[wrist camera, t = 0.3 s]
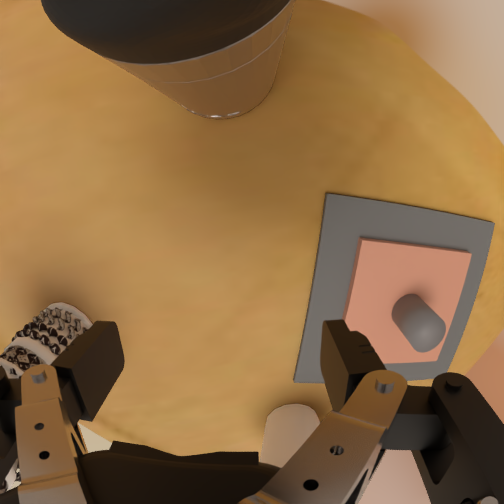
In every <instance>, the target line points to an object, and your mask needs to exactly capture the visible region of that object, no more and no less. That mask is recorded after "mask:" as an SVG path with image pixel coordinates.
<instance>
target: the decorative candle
mask: <svg viewBox="0 0 504 504" xmlns="http://www.w3.org/2000/svg"><path fill="white" fill-rule="evenodd" d="M92 325H93V324H92V323H91V321H90V320H89V319H88V318H87V316H86V315H85V314H84V313H82V312H81V311H80V310H78V309H77V308H76V307H74V306H72V305H69V304H66V303H63V302H59V303H52V304H50V305H49V306H48V307H47V308H46V309H45V310H43V311H40V314H39V315H38V316H36V317H33V322H29V323H28V324H26V325H25V326H24V328H23V330H21V331H18V332H17V333H16V335H15V337H13V338H12V342H11V343H10V344H9V345H8V346H7V347H6V348H5V349H4V352H3V353H2V354H1V355H0V366H1V367H3V368H4V369H5V371H6V373H7V376H8V378H21V377H22V374H23V373H24V372H25V371H26V370H27V369H29V368H31V367H33V366H36V365H41V364H47V365H50V364H51V363H52V362H53V361H54V360H55V359H56V358H57V357H58V356H59V355H60V353H61V352H62V351H63V350H65V348H66V347H67V346H68V345H70V343H71V342H72V341H73V340H74V339H75V338H76V337H77V336H79V335H81V334H83V333H84V332H86V331H87V330H88V329H89V328H90V327H91V326H92ZM18 468H19V469H20V467H19V459H18V458H17V459H16V461H15V463H14V464H13V466H12V468H11V469H10V471H9V473H8V475H7V476H6V478H5V480H4V482H3V483H2V485H1V487H0V494H2V493H4V492H6V491H7V489H10V488H11V487H12V485H13V483H14V482H15V481H19V482H21V475H20V472H18V473H17V472H16V470H17V469H18Z"/></svg>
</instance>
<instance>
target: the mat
mask: <svg viewBox="0 0 504 504" xmlns="http://www.w3.org/2000/svg"><path fill="white" fill-rule="evenodd" d="M494 224H495V223H493V222H489V221H485V220H480V219H475V218H471V217H466V216H461V215H456V214H451V213H446V212H441V211H436V210H431V209H425V208H420V207H414V206H409V205H403V204H397V203H391V202H385V201H379V200H372V199H366V198H359V197H352V196H345V195H338V194H330V193H326V194H325V202H324V209H323V217H322V224H321V231H320V237H319V244H318V250H317V257H316V263H315V269H314V275H313V281H312V287H311V293H310V298H309V304H308V309H307V315H306V320H305V325H304V330H303V335H302V340H301V345H300V350H299V355H298V360H297V365H296V369H295V374H294V379H293V380H294V383H325V382H324V379H323V376H322V372H321V367H320V351H321V337H322V325H323V321H324V320H338V319H342V317H343V312H344V308H345V304H346V299H347V295H348V290H349V285H350V281H351V276H352V271H353V266H354V261H355V255H356V250H357V244H358V239H359V237H360V238H369V239H377V240H385V241H394V242H402V243H410V244H418V245H426V246H433V247H441V248H448V249H456V250H463V251H468V252H470V253H471V254H472V255H471V259H470V263H469V267H468V271H467V275H466V278H465V282H464V285H463V289H462V292H461V295H460V298H459V302H458V305H457V308H456V311H455V314H454V317H453V320H452V322H451V325H450V328H449V331H448V333H447V336H446V339H445V341H444V344H443V346H442V349H441V351H440V354H439V356H438V359H437V361H430V362H413V363H387V364H384V366H385V367H386V369H387V370H389V371H394V372H396V373H399V374H400V375H402V376H403V377H404V378H405V379H406V381H411V380H424V379H434V378H435V377H436V376H438V375H440V374H442V373H447V371H448V368H449V366H450V364H451V362H452V359H453V357H454V355H455V352H456V350H457V347H458V345H459V342H460V340H461V337H462V335H463V332H464V330H465V327H466V324H467V321H468V319H469V316H470V313H471V310H472V307H473V304H474V301H475V298H476V295H477V292H478V288H479V285H480V282H481V278H482V275H483V271H484V267H485V264H486V260H487V256H488V252H489V248H490V243H491V239H492V234H493V229H494Z"/></svg>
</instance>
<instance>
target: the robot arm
mask: <svg viewBox="0 0 504 504" xmlns="http://www.w3.org/2000/svg"><path fill="white" fill-rule="evenodd" d="M41 3H42V6H43V8H44V11H45V13H46V14H47V16H48V17H49V19H50V20H51V22H52V23H53V24H54V25H55V26H56V27H57V28H58V29H59V30H60V31H62V32H63V33H64V34H65V35H66V36H68V37H70V38H71V39H73V40H75V41H76V42H78V43H79V44H81V45H83V46H85V47H87V48H88V49H90V50H92V51H94V52H96V53H97V54H99V55H100V56H102V57H104V58H106V59H107V60H109V61H111V62H113V63H114V64H116V65H118V66H119V67H121V68H123V69H124V70H126V71H128V72H130V73H131V74H133V75H135V76H136V77H138V78H139V79H141V80H143V81H144V82H146V83H148V84H149V85H151V86H152V87H154V88H155V89H157V90H159V91H160V92H162V93H163V94H165V95H166V96H168V97H169V98H171V99H172V100H174V101H176V102H177V103H179V104H180V105H182V106H183V107H185V108H186V109H187V110H188V111H190V112H192V113H194V114H197V115H199V116H202V117H205V118H212V119H228V118H232V117H237V116H240V115H242V114H244V113H246V112H249V111H250V110H252V109H253V108H255V107H256V106H257V105H259V104H260V103H261V101H262V100H263V99H264V98H265V97H266V96H267V94H268V92H269V91H270V89H271V87H272V84H273V81H274V78H275V75H276V71H277V68H278V64H279V60H280V57H281V53H282V49H283V45H284V42H285V38H286V34H287V30H288V27H289V23H290V19H291V15H292V11H293V7H294V3H295V0H41ZM320 367H321V372H322V376H323V379H324V382H325V385H326V389H327V392H328V395H329V398H330V402H331V405H332V408H333V410H332V411H331V412H329V413H328V415H327V416H326V417H325V418H324V419H323V421H322V422H321V423H320V424H319V426H318V427H317V428H316V429H315V431H314V432H313V433H312V434H311V435H310V436H309V438H308V439H307V440H306V441H305V442H304V444H303V445H302V446H301V447H300V448H299V449H298V450H297V452H296V453H295V454H294V455H293V456H292V457H291V458H290V459H289V460H288V462H287V463H286V464H285V465H284V466H283V467H282V468H280V467H277V466H275V465H271V464H267V463H262V462H259V457H258V452H214V453H207V454H199V455H191V456H176V455H173V454H170V453H166V452H163V451H160V450H157V449H154V448H151V447H148V446H145V445H138V444H131V443H125V442H119V441H113V443H112V445H111V447H110V449H109V450H102V451H95V452H91V453H88V450H87V448H86V445H85V442H84V439H83V436H82V433H81V430H80V428H79V425H78V423H77V422H78V421H79V419H81V420H86V421H91V422H92V421H93V419H94V418H95V416H96V414H97V412H98V411H99V409H100V407H101V406H102V404H103V402H104V400H105V399H106V397H107V395H108V394H109V392H110V390H111V389H112V387H113V385H114V384H115V382H116V380H117V379H118V377H119V375H120V374H121V372H122V370H123V368H124V354H123V349H122V345H121V341H120V336H119V332H118V328H117V325H116V323H115V322H112V321H96V322H95V323H94V324H93V325H92V326H91V327H90V328H89V329H88V330H87V331H86V332H84V333H83V334H81V335H79V336H77V337H76V338H75V339H74V340H73V341H72V342H71V343H70V345H68V346H67V347H66V348H65V350H63V351H62V352H61V353H60V355H59V356H58V357H57V358H56V359H55V360H54V361H53V362H52V363H51V364H50V365H47V364H41V365H36V366H33V367H31V368H29V369H27V370H26V371H25V372H24V373H23V374H22V377H21V378H8V376H7V373H6V371H5V369H4V368H3V367H1V366H0V487H1V485H2V483H3V482H4V480H5V478H6V476H7V475H8V473H9V471H10V469H11V468H12V466H13V464H14V463H15V461H16V459H17V458H18V459H19V467H20V475H21V484H20V485H19V486H17V487H16V488H13V489H11V490H8V491H6V492H4V493H2V494H0V504H358V503H359V501H360V499H361V497H362V495H363V493H364V491H365V489H366V488H367V485H368V484H369V482H370V481H371V479H372V477H373V475H374V473H375V472H376V470H377V468H378V466H379V464H380V462H381V460H382V458H383V457H384V455H385V453H386V451H387V449H390V450H391V449H392V450H411V451H412V453H413V456H414V459H415V461H416V464H417V467H418V469H419V472H420V474H421V477H422V480H423V482H424V485H425V488H426V490H427V493H428V496H429V499H430V502H431V504H504V424H503V423H502V421H501V420H500V419H499V417H498V416H497V415H496V413H495V412H494V411H493V409H492V408H491V406H490V405H489V404H488V403H487V401H486V400H485V399H484V397H483V396H482V395H481V393H480V392H479V391H478V389H477V388H476V387H475V386H474V384H473V383H472V382H471V381H470V380H469V379H468V378H467V377H465V376H464V375H461V374H458V373H452V372H448V373H442V374H440V375H438V376H436V377H435V379H434V380H433V383H432V387H425V386H410V385H407V381H406V379H405V378H404V377H403V376H402V375H400V374H399V373H396V372H394V371H389V370H387V369H386V367H385V366H384V364H383V362H382V361H381V359H380V357H379V356H378V354H377V353H376V352H375V349H374V348H373V346H371V343H370V341H369V340H368V338H367V337H366V336H365V335H363V334H362V333H360V332H358V331H350V330H349V328H348V326H347V325H346V323H345V321H344V320H343V319H338V320H324V321H323V325H322V337H321V351H320Z"/></svg>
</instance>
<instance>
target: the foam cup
mask: <svg viewBox="0 0 504 504" xmlns="http://www.w3.org/2000/svg"><path fill="white" fill-rule="evenodd" d="M319 424H320V421H319V419H318V416H317V414H316V412H315V411H314V410H313V409H312V408H310V407H309V406H306V405H302V404H288V405H283V406H281V407H279V408H276V409H274V410H273V411H272V412H271V413H270V414H269V415H268V417H267V421H266V426H265V431H264V438H263V444H262V451H261V457H260V462H262V463H267V464H271V465H275V466H277V467H280V468H282V467H283V466H284V465H285V464H286V463H287V462H288V460H289V459H290V458H291V457H292V456H293V455H294V454H295V453H296V452H297V450H298V449H299V448H300V447H301V446H302V445H303V444H304V442H305V441H306V440H307V439H308V438H309V436H310V435H311V434H312V433H313V432H314V431H315V429H316V428H317V427H318V426H319Z"/></svg>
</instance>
